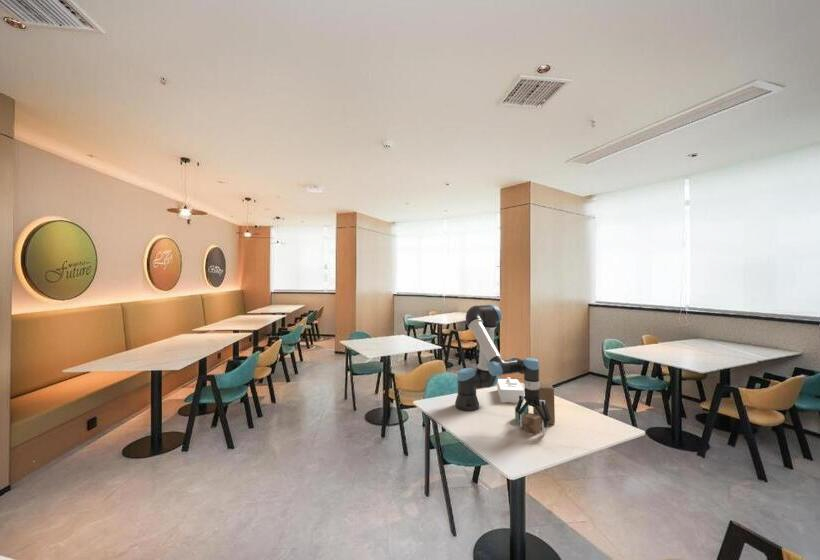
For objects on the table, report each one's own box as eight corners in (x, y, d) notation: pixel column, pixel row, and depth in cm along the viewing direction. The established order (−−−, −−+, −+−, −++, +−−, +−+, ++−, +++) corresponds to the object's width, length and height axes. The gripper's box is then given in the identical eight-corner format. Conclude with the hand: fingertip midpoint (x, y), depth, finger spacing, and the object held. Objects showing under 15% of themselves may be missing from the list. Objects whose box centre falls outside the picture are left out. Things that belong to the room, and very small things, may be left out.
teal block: (515, 421, 187) (515, 406, 188) (518, 417, 193) (517, 403, 193) (526, 423, 184) (525, 408, 184) (528, 419, 189) (528, 405, 189)
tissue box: (501, 402, 217) (500, 386, 218) (497, 390, 242) (497, 375, 242) (523, 403, 215) (523, 386, 215) (517, 391, 240) (517, 376, 240)
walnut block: (524, 431, 174) (524, 416, 175) (530, 427, 178) (529, 412, 179) (535, 434, 170) (535, 419, 170) (541, 431, 174) (540, 416, 174)
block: (555, 424, 181) (554, 388, 182) (536, 423, 183) (535, 387, 184) (551, 417, 191) (550, 382, 191) (533, 416, 193) (532, 382, 193)
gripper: (507, 385, 181) (508, 425, 180) (551, 395, 163) (552, 439, 163) (515, 382, 186) (515, 421, 185) (557, 391, 168) (558, 434, 168)
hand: (532, 429), depth 174 cm, fingers open, 11 cm apart
